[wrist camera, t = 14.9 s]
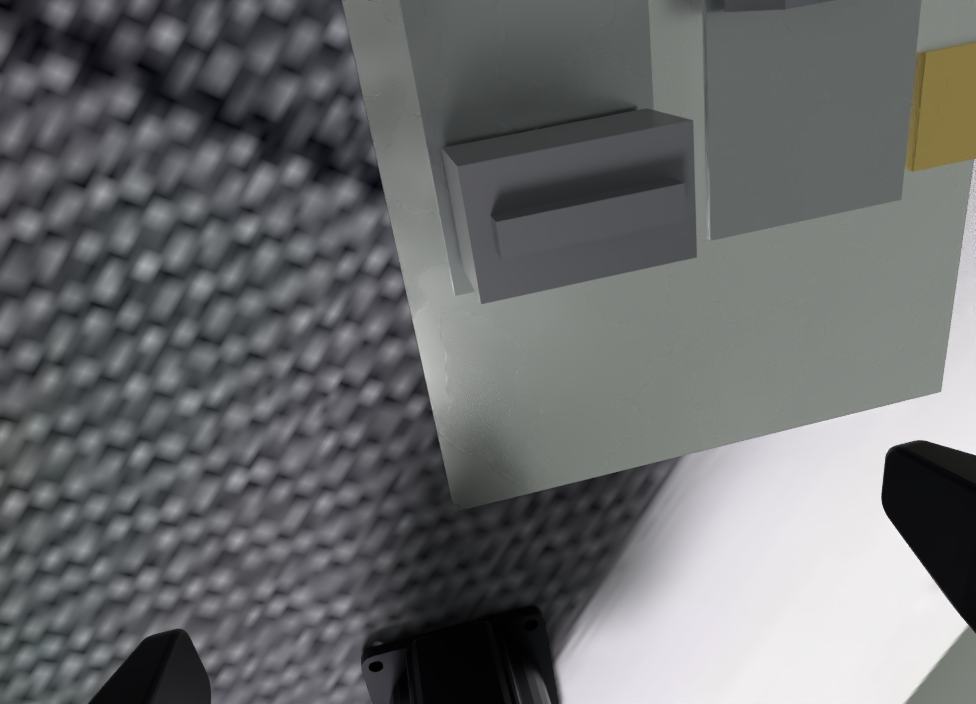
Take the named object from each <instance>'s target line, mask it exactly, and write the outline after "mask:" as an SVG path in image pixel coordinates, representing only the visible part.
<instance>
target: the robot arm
mask: <svg viewBox="0 0 976 704" xmlns="http://www.w3.org/2000/svg"><path fill="white" fill-rule="evenodd" d="M881 499H882V505H883V508H884V511H885V513H886V515H887V516H888V518H889V519H890V521H891V522H892V523H893V525H894V526H895V528H896V529H897V530H898V532H899V533H900V534H901V536H902V537H903V539H904V540H905V541H906V543H907V544H908V545H909V547H910V548H911V549H912V551H913V552H914V554H915V555H916V556H917V558H918V559H919V560H920V562H921V563H922V565H923V566H924V567H925V569H926V570H927V571H928V573H929V574H930V576H931V577H932V578H933V580H934V581H935V582H936V584H937V585H938V587H939V588H940V589H941V591H942V592H943V593H944V595H945V596H946V597H947V599H948V600H949V601H950V603H951V604H952V605H953V607H954V608H955V609H956V610H957V612H958V613H959V614H960V616H961V617H962V618H963V619H964V620H965V621H966V623H967V624H968V625H969V626H970V627H971V629H972V630H973V631H974V632H975V633H976V455H973V454H969V453H966V452H962V451H959V450H955V449H952V448H948V447H945V446H941V445H938V444H935V443H931V442H928V441H923V440H917V441H912V442H908V443H904V444H900V445H896V446H893V447H892V448H890V449H889V450H888V452H887V454H886V457H885V466H884V475H883V485H882V494H881ZM529 620H533V621H531V622H527V621H529ZM374 661H380V662H378V663H372V662H374ZM361 667H362V673H363V676H364V679H365V682H366V685H367V688H368V691H369V694H370V697H371V700H372V703H373V704H558V698H557V692H556V686H555V680H554V674H553V668H552V662H551V656H550V650H549V644H548V638H547V632H546V626H545V621H544V618H543V615H542V612H541V610H540V609H539V608H537V607H534V606H527V607H523V608H519V609H515V610H512V611H508V612H504V613H500V614H496V615H493V616H489V617H485V618H481V619H477V620H474V621H470V622H466V623H462V624H459V625H455V626H451V627H447V628H443V629H440V630H436V631H432V632H428V633H424V634H421V635H417V636H413V637H409V638H406V639H402V640H398V641H394V642H390V643H387V644H383V645H379V646H375V647H372V648H369V649H367V650H366V651H365V652H364V653H363V654H362V656H361ZM88 704H211V687H210V681H209V678H208V675H207V672H206V670H205V668H204V666H203V664H202V662H201V660H200V657H199V655H198V653H197V651H196V649H195V647H194V645H193V643H192V641H191V638H190V637H189V635H188V633H187V632H186V631H185V630H183V629H174V630H170V631H166V632H162V633H158V634H154V635H151V636H149V637H147V638H145V639H144V640H143V641H142V642H141V643H140V644H139V645H138V647H137V648H136V649H135V650H134V651H133V652H132V653H131V655H130V656H129V657H128V658H127V659H126V660H125V662H124V663H123V664H122V665H121V666H120V667H119V668H118V670H117V671H116V672H115V673H114V674H113V675H112V677H111V678H110V679H109V680H108V681H107V682H106V683H105V685H104V686H103V687H102V688H101V689H100V690H99V692H98V693H97V694H96V695H95V696H94V697H93V698H92V700H91V701H90V702H89V703H88Z"/></svg>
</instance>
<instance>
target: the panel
mask: <svg viewBox="0 0 976 704" xmlns="http://www.w3.org/2000/svg"><path fill="white" fill-rule="evenodd" d="M341 1H342V5H343V10H344V14H345V19H346V23H347V28H348V32H349V37H350V42H351V46H352V51H353V55H354V60H355V64H356V69H357V73H358V78H359V82H360V87H361V91H362V96H363V100H364V105H365V109H366V114H367V118H368V123H369V127H370V132H371V137H372V141H373V146H374V150H375V155H376V159H377V164H378V168H379V173H380V177H381V182H382V186H383V191H384V195H385V200H386V204H387V209H388V213H389V218H390V222H391V227H392V232H393V236H394V241H395V245H396V250H397V254H398V259H399V263H400V268H401V272H402V277H403V281H404V286H405V290H406V295H407V299H408V304H409V308H410V313H411V317H412V322H413V327H414V331H415V336H416V340H417V345H418V349H419V354H420V358H421V363H422V367H423V372H424V376H425V381H426V385H427V390H428V394H429V399H430V403H431V408H432V413H433V417H434V422H435V426H436V431H437V435H438V440H439V444H440V449H441V453H442V458H443V462H444V467H445V471H446V476H447V480H448V485H449V489H450V493H451V497H452V502H453V506H454V510H455V512H457V511H461V510H465V509H469V508H473V507H477V506H481V505H485V504H489V503H493V502H497V501H501V500H505V499H509V498H513V497H517V496H522V495H526V494H530V493H534V492H538V491H542V490H546V489H550V488H554V487H558V486H562V485H566V484H570V483H574V482H578V481H582V480H586V479H590V478H594V477H598V476H602V475H606V474H610V473H614V472H619V471H623V470H627V469H631V468H635V467H639V466H643V465H647V464H651V463H655V462H659V461H663V460H667V459H671V458H675V457H679V456H683V455H687V454H691V453H695V452H699V451H703V450H707V449H711V448H716V447H720V446H724V445H728V444H732V443H736V442H740V441H744V440H748V439H752V438H756V437H760V436H764V435H768V434H772V433H776V432H780V431H784V430H788V429H792V428H796V427H800V426H804V425H808V424H813V423H817V422H821V421H825V420H829V419H833V418H837V417H841V416H845V415H849V414H853V413H857V412H861V411H865V410H869V409H873V408H877V407H881V406H885V405H889V404H893V403H897V402H901V401H905V400H910V399H914V398H918V397H922V396H926V395H930V394H934V393H938V392H941V388H942V381H943V374H944V367H945V360H946V353H947V346H948V339H949V332H950V325H951V318H952V311H953V303H954V296H955V289H956V282H957V275H958V268H959V261H960V254H961V247H962V240H963V233H964V226H965V219H966V212H967V205H968V198H969V191H970V184H971V177H972V170H973V163H974V159H976V0H834V1H829V2H823V3H818V4H813V5H807V6H802V7H796V8H791V9H784V10H763V11H741V12H725V7H724V0H341ZM645 108H648V109H652V110H655V111H659V112H663V113H667V114H671V115H675V116H679V117H683V118H687V119H691V120H693V131H694V167H695V203H696V239H697V257H696V258H692V259H687V260H683V261H678V262H673V263H669V264H664V265H660V266H655V267H650V268H646V269H641V270H637V271H632V272H627V273H623V274H618V275H614V276H609V277H605V278H600V279H595V280H591V281H586V282H582V283H577V284H572V285H568V286H563V287H559V288H554V289H549V290H545V291H540V292H536V293H531V294H526V295H522V296H517V297H513V298H508V299H503V300H499V301H494V302H490V303H485V304H481V303H480V301H479V299H478V297H477V295H476V293H475V291H474V289H473V287H472V285H471V283H470V281H469V280H468V278H467V276H466V274H465V272H464V270H463V264H462V259H461V253H460V248H459V242H458V237H457V231H456V225H455V220H454V214H453V209H452V203H451V198H450V192H449V187H448V181H447V175H446V170H445V164H444V159H443V153H442V148H444V147H449V146H454V145H459V144H464V143H470V142H475V141H480V140H485V139H490V138H495V137H501V136H506V135H511V134H516V133H521V132H526V131H532V130H537V129H542V128H547V127H552V126H557V125H563V124H568V123H573V122H578V121H583V120H588V119H594V118H599V117H604V116H609V115H614V114H619V113H625V112H630V111H635V110H640V109H645Z"/></svg>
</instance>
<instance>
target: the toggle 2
mask: <svg viewBox="0 0 976 704" xmlns="http://www.w3.org/2000/svg"><path fill="white" fill-rule="evenodd" d="M829 1H834V0H724V7H725V12H741V11H763V10H784V9H791V8H796V7H802V6H807V5H813V4H818V3H823V2H829Z"/></svg>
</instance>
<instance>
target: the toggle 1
mask: <svg viewBox="0 0 976 704" xmlns="http://www.w3.org/2000/svg"><path fill="white" fill-rule="evenodd" d="M442 153H443V159H444V164H445V170H446V175H447V181H448V187H449V192H450V198H451V203H452V209H453V214H454V220H455V225H456V231H457V237H458V242H459V248H460V253H461V259H462V264H463V270H464V272H465V274H466V276H467V278H468V280H469V281H470V283H471V285H472V287H473V289H474V291H475V293H476V295H477V297H478V299H479V301H480V303H481V304H485V303H490V302H494V301H499V300H503V299H508V298H513V297H517V296H522V295H526V294H531V293H536V292H540V291H545V290H549V289H554V288H559V287H563V286H568V285H572V284H577V283H582V282H586V281H591V280H595V279H600V278H605V277H609V276H614V275H618V274H623V273H627V272H632V271H637V270H641V269H646V268H650V267H655V266H660V265H664V264H669V263H673V262H678V261H683V260H687V259H692V258H696V257H697V239H696V203H695V167H694V131H693V120H691V119H687V118H683V117H679V116H675V115H671V114H667V113H663V112H659V111H655V110H652V109H648V108H645V109H640V110H635V111H630V112H625V113H619V114H614V115H609V116H604V117H599V118H594V119H588V120H583V121H578V122H573V123H568V124H563V125H557V126H552V127H547V128H542V129H537V130H532V131H526V132H521V133H516V134H511V135H506V136H501V137H495V138H490V139H485V140H480V141H475V142H470V143H464V144H459V145H454V146H449V147H444V148H442Z"/></svg>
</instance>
